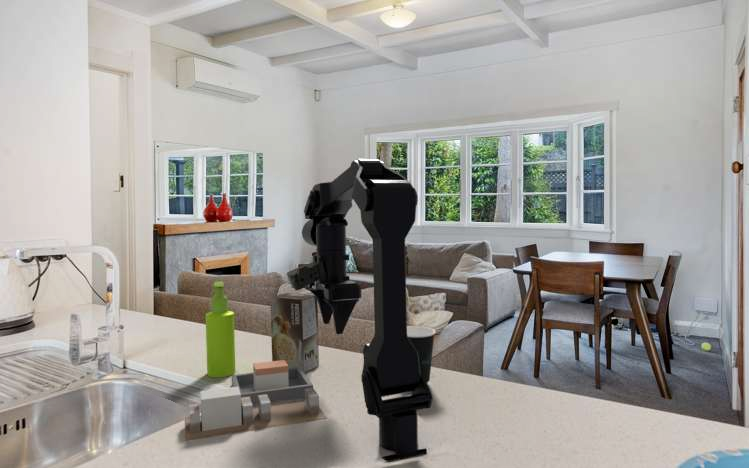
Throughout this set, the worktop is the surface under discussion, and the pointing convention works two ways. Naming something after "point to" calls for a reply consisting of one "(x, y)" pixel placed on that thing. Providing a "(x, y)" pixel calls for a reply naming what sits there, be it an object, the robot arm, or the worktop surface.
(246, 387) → the tray
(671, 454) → the worktop surface
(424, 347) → the dixie cup
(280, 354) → the coffee box
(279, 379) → the block
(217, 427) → the block
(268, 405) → the board
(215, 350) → the soap dispenser
